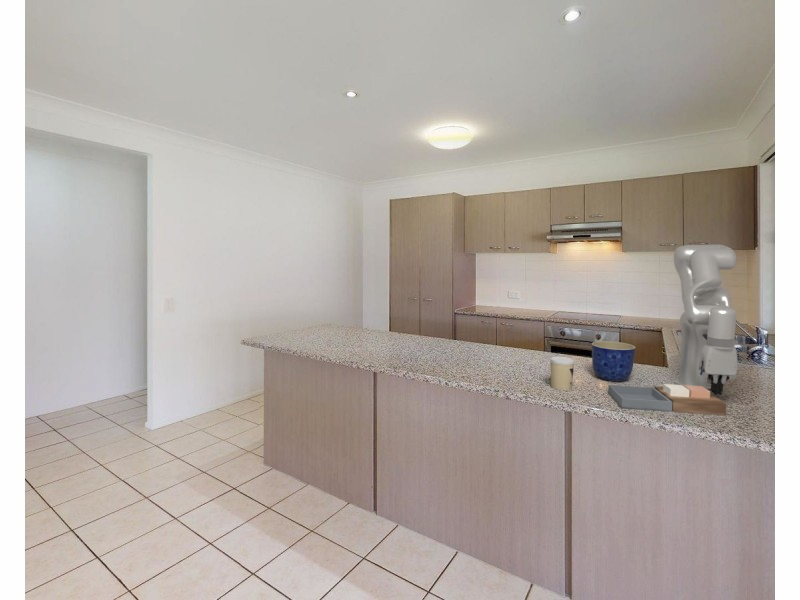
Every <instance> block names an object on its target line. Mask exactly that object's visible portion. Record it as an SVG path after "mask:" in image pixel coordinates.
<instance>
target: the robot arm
mask: <svg viewBox="0 0 800 600" xmlns="http://www.w3.org/2000/svg"><path fill="white" fill-rule="evenodd" d="M673 263H674V264H673V265H674V267H675V270H676V273H677V275H678V276H679V280H680V289H681V297H682V298H681V299H682V304H683V308H684V309H683V310H684V312H682V313H681V315H680V317H679V323H680V333H681V337H680V338H681V341H680V356H679V357H680V358H679V372H678V378H676V379H675V378H674V380H673V383H674V385H682V386H683V385H691V386H702V387H704V388H706V389H707V390H711V391H710V392H711V393H712V394H714V395H720V396H721V395H723V393H722V392H723V390H724V384H726V382H727V381H728V380H730V379H731V380H732V379H736V378H737V372H738V354H737V353H738V351H737V349H736V347H735V346H736V345H738V344H739V340H736V338H735V336H736V323H737V311H736V310H735V309H734V308H733V306H732V298H731V294H730V292H729V291H728V289H727V288H725V287H723V286H721V284H722V283H723V282H722V281H723V278H722V276H721V270H724V271H725V270H726V271H728V270H732V269H734V268H735V266H736V265H737V255H736V252H735V251H734V250H733V249H732V248H731V247H729V246H726V245H725V244H715V243H714V244H686V245H685V244H684V245H682V246H681V245H680V246H678V247H677V248H675V250H674V253H673ZM703 335H707V337H706V338H705V337H704V336H703ZM717 375H718V378H717ZM708 380H709V381H710V383H709V382H708Z"/></svg>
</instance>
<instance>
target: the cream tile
mask: <svg viewBox="0 0 800 600" xmlns="http://www.w3.org/2000/svg"><path fill="white" fill-rule="evenodd" d="M662 387H663V391H664V392H666V393H667V394H668V395H670V396H679V397H689V391H690V390H688V389H687V388H685V387H684V386H682V385H676V384H670V383H669V384H667V383H666V384H665V383H663V385H662Z"/></svg>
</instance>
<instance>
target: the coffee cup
mask: <svg viewBox="0 0 800 600" xmlns="http://www.w3.org/2000/svg"><path fill="white" fill-rule="evenodd" d="M549 359H550V360H549V363H550V365H549V366H550V383H551V384H550V386H551V388H552V389H553V390H556V389H557V391H563V390H566V391H570V389H571V390H572V386H573V377H574V367H575V360H574V359H573V358H570V357H567V356H553V357H550V358H549Z"/></svg>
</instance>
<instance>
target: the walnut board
mask: <svg viewBox="0 0 800 600" xmlns="http://www.w3.org/2000/svg"><path fill="white" fill-rule="evenodd" d="M653 387H654V388H655V389H656V390H658V391H659V392H660V393H661V394H663V395H664V396H665V397H667V398H668V399H669V400H671V401H672V412H674V413H683V414H684V413H687V414H700V415H701V414H703V415H718V416H726V412H727V411H726V410H727V402H724V401H723V400H721V399H720V398H717V397H715V396H714V395H713V394H711V393H710V398H697V397H690V396H689V397H679V396H670V395H668V394H667V393H666V392H664V391H663V386H656V385H654V386H653Z"/></svg>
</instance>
